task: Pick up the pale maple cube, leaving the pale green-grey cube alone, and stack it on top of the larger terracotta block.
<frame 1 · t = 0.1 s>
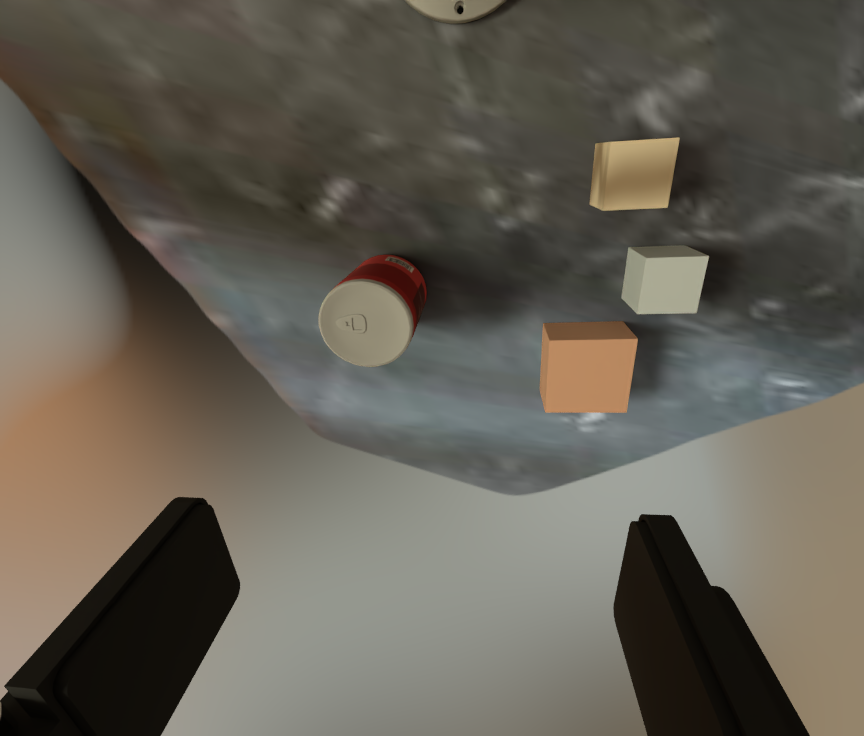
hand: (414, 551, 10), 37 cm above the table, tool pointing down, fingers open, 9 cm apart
pale green-grey cube: (651, 272, 42), on the table
canned food: (390, 288, 45), on the table
terracotta block: (578, 356, 46), on the table
maple cube: (621, 173, 38), on the table
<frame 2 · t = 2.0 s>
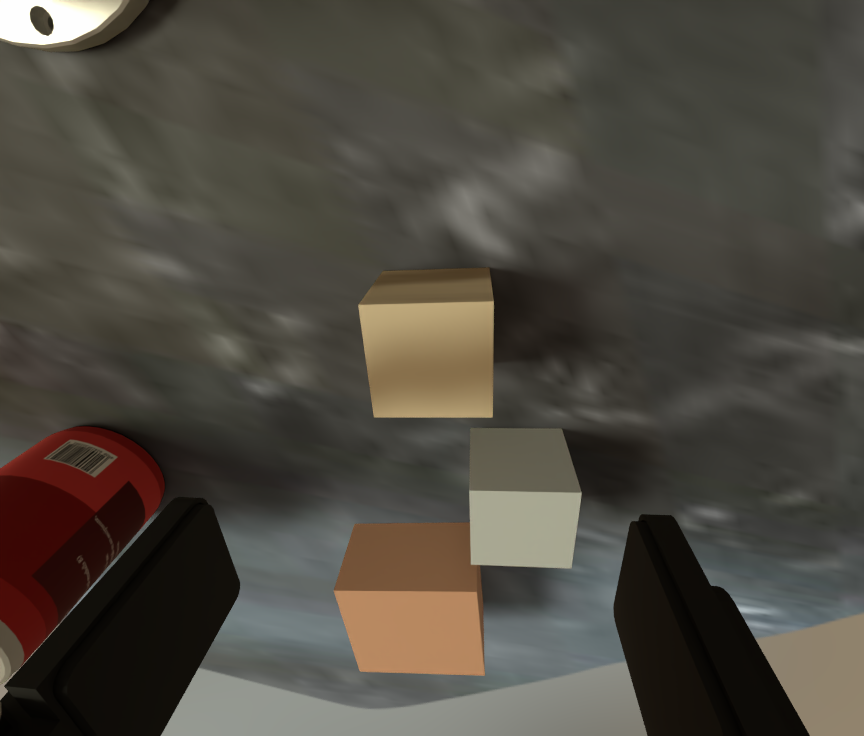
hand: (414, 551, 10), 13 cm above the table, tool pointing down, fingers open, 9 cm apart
pale green-grey cube: (513, 462, 25), on the table
canned food: (111, 468, 28), on the table
terracotta block: (422, 562, 30), on the table
maple cube: (438, 318, 21), on the table
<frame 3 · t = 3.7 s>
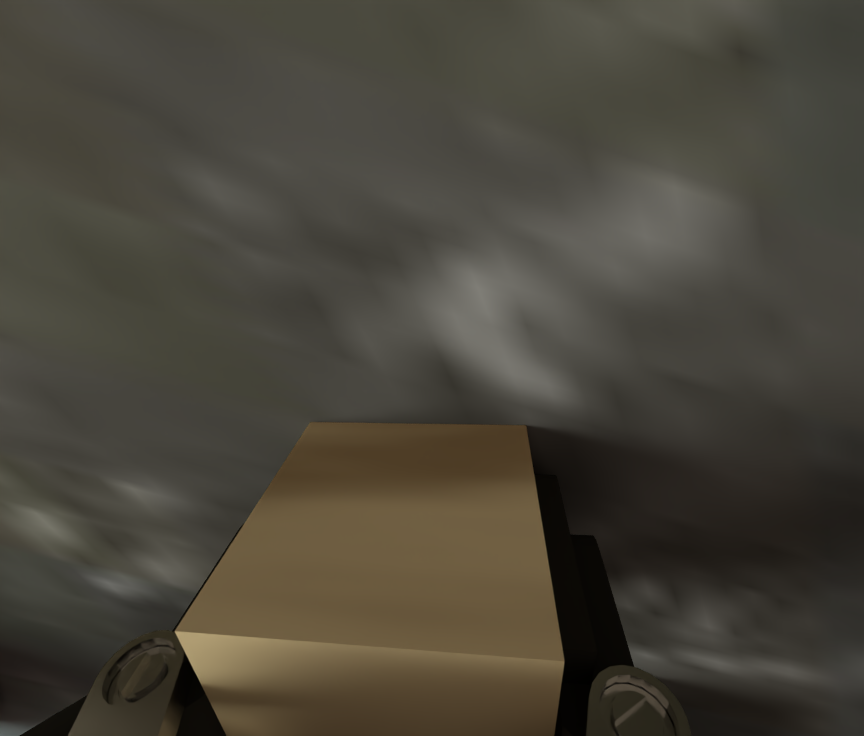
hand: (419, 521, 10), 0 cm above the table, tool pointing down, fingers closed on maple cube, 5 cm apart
maple cube: (421, 506, 11), on the table, touching gripper
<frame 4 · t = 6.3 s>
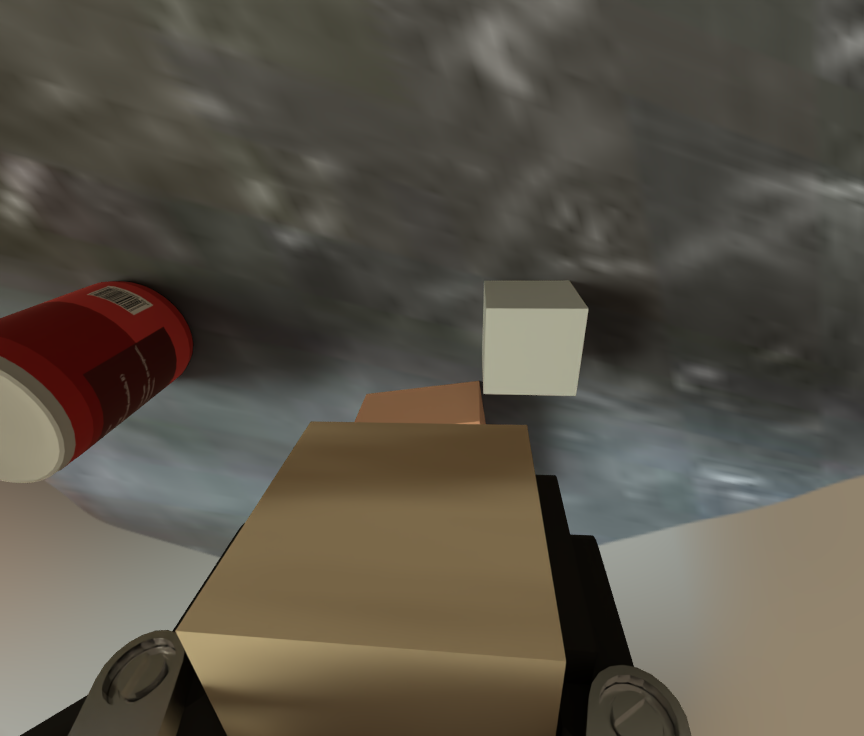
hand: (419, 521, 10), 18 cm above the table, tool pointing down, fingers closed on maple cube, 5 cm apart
pale green-grey cube: (523, 319, 27), on the table
canned food: (143, 330, 30), on the table
terracotta block: (432, 432, 32), on the table
maple cube: (422, 505, 11), point 18 cm above the table, touching gripper
when the fingers open (7 cm above the table, at t = 8.7 s): maple cube drops 2 cm, resting on terracotta block.
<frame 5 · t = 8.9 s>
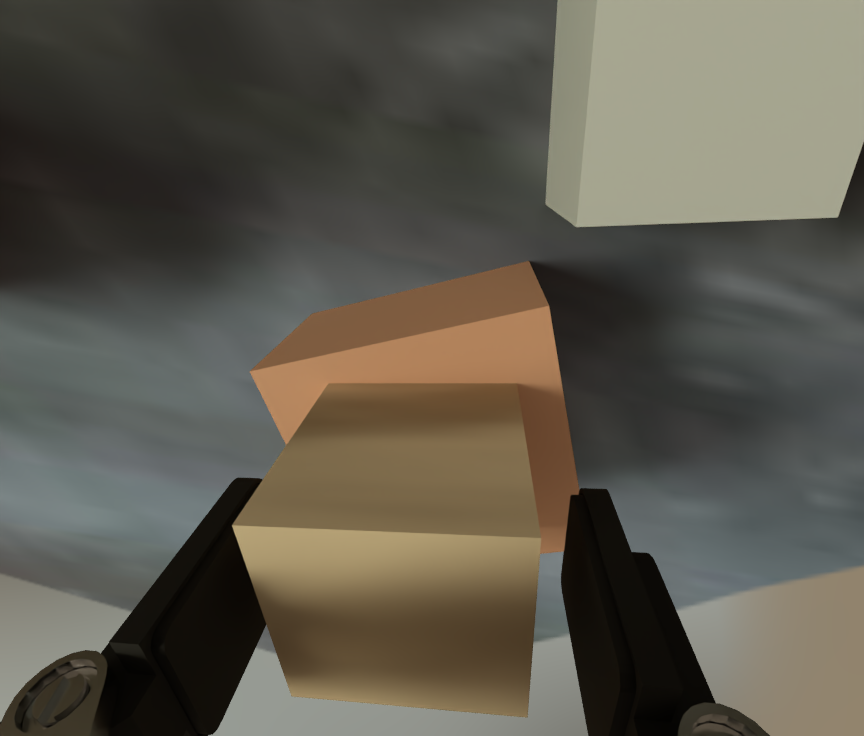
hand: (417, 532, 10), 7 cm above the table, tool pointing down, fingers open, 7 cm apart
pale green-grey cube: (641, 105, 12), on the table
terracotta block: (443, 383, 17), on the table, touching maple cube
maple cube: (426, 459, 12), point 5 cm above the table, touching terracotta block
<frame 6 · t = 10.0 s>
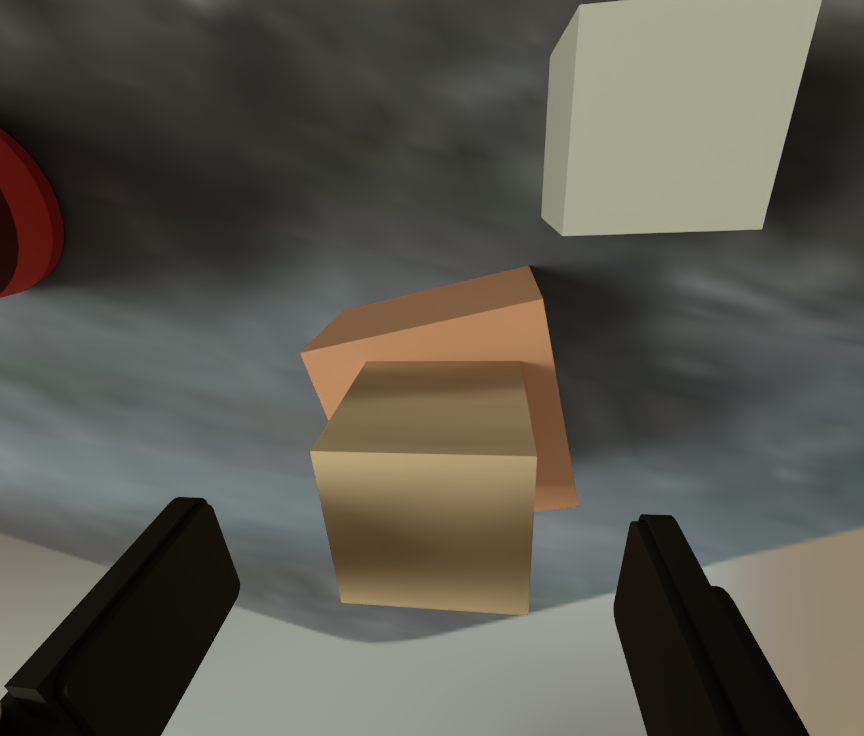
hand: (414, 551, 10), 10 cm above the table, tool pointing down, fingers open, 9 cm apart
pale green-grey cube: (619, 138, 15), on the table
terracotta block: (455, 371, 19), on the table, touching maple cube
maple cube: (444, 426, 15), point 5 cm above the table, touching terracotta block
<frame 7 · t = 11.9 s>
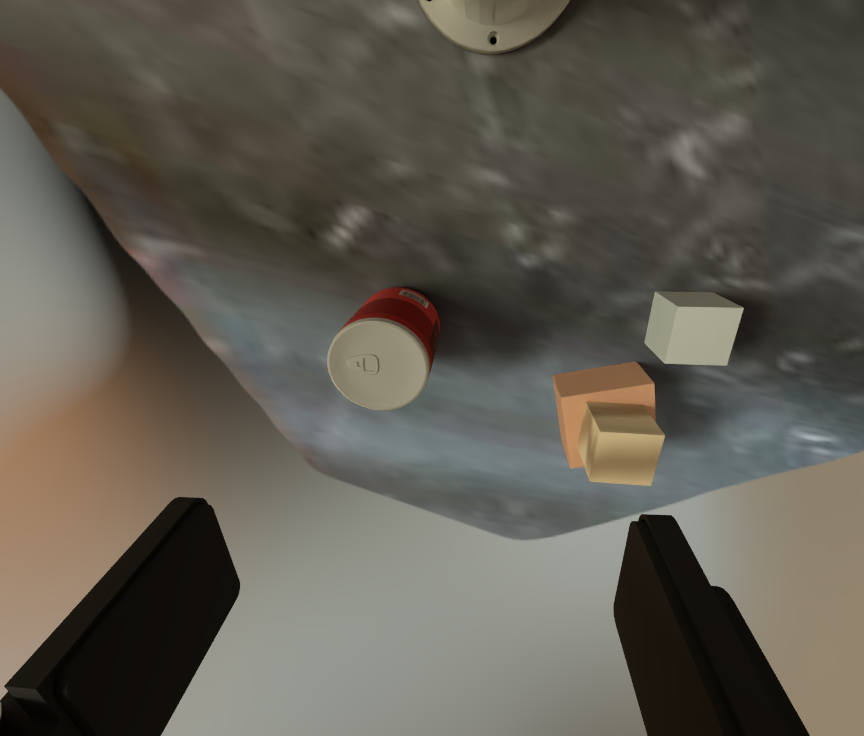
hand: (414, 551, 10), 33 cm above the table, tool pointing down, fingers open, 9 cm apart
pale green-grey cube: (677, 318, 40), on the table
canned food: (401, 322, 43), on the table
terracotta block: (596, 402, 44), on the table, touching maple cube
maple cube: (609, 426, 40), point 5 cm above the table, touching terracotta block
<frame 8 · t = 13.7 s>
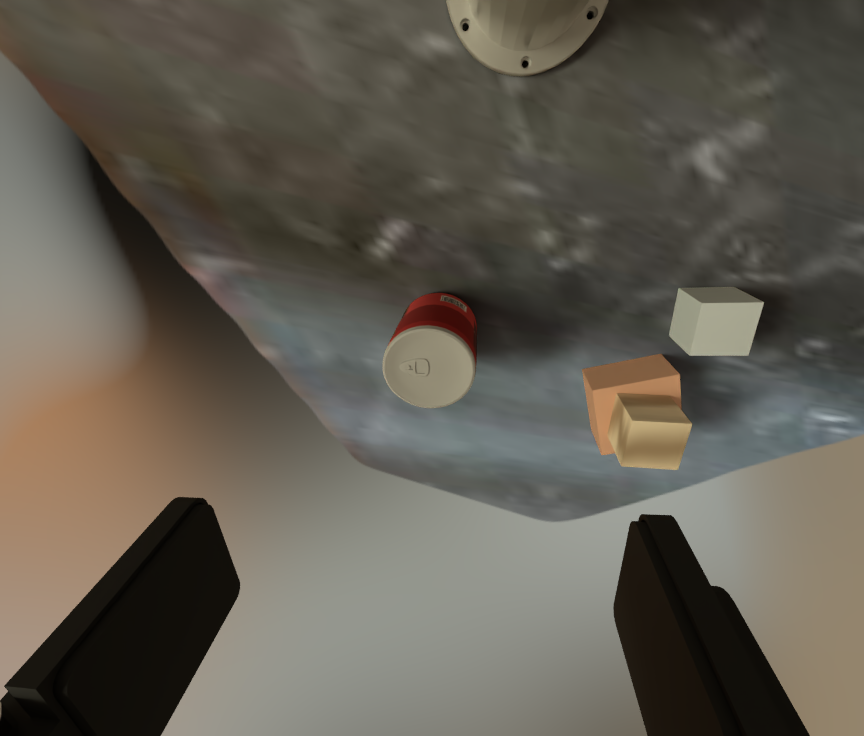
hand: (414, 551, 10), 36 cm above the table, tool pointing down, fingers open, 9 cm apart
pale green-grey cube: (700, 311, 43), on the table
canned food: (439, 324, 46), on the table
terracotta block: (623, 392, 47), on the table
maple cube: (637, 415, 43), point 5 cm above the table
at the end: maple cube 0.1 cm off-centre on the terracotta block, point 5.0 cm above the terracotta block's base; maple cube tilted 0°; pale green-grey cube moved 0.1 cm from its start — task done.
